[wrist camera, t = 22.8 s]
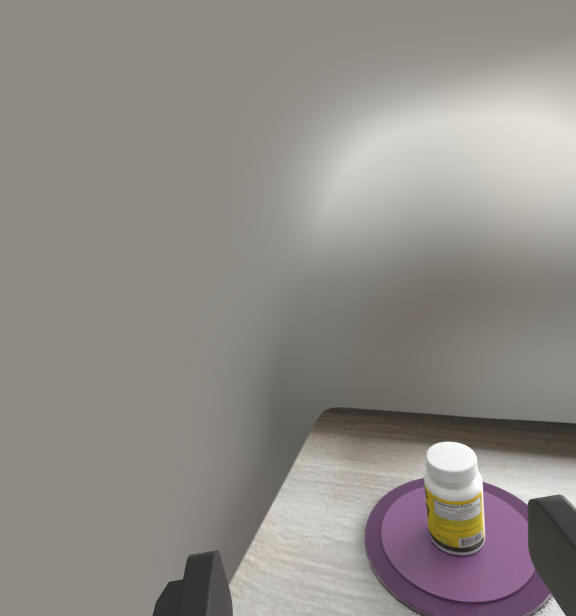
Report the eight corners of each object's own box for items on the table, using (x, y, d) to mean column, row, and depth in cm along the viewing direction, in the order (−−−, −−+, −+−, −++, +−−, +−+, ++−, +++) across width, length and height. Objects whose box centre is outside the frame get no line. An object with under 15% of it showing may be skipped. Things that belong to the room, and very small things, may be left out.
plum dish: (368, 628, 34) (367, 620, 34) (363, 484, 49) (362, 478, 49) (599, 630, 32) (600, 621, 31) (519, 476, 47) (519, 470, 46)
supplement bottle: (436, 509, 43) (430, 434, 41) (490, 524, 41) (487, 444, 38) (421, 547, 40) (413, 466, 37) (479, 565, 37) (475, 480, 34)
